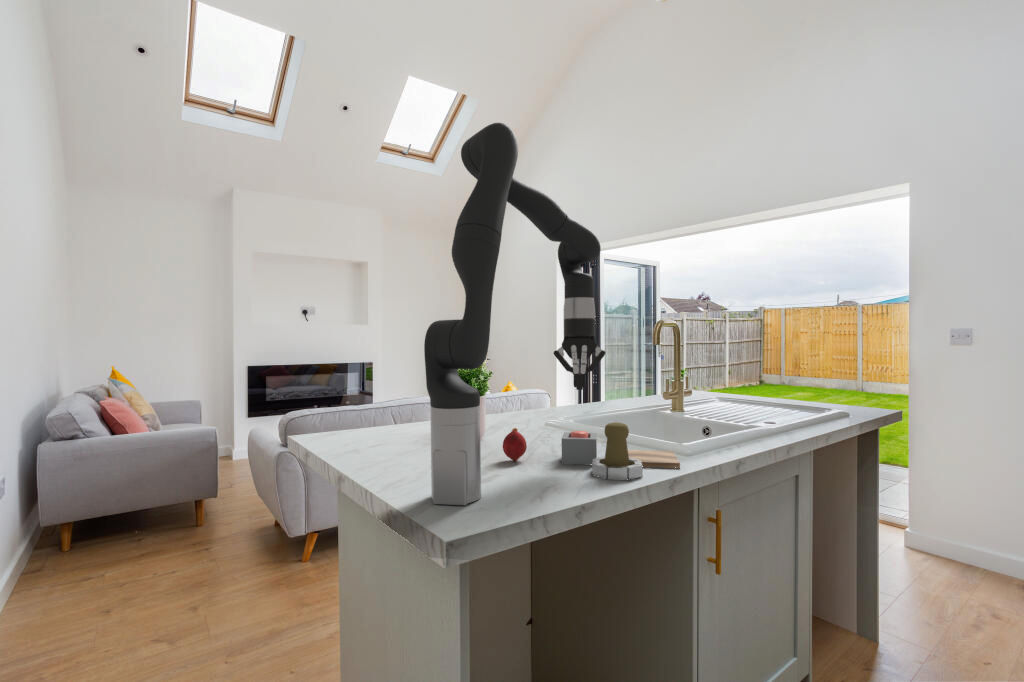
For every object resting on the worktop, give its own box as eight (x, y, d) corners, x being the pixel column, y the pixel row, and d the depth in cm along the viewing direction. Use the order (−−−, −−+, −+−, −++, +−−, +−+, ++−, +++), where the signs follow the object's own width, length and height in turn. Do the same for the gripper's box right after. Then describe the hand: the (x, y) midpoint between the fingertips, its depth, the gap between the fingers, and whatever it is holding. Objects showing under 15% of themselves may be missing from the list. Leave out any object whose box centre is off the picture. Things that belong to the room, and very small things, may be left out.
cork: (600, 475, 108) (600, 424, 108) (605, 468, 113) (604, 420, 113) (629, 478, 106) (628, 426, 106) (632, 471, 111) (632, 421, 111)
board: (679, 468, 113) (679, 463, 113) (625, 466, 115) (625, 461, 115) (672, 456, 125) (672, 451, 125) (623, 454, 127) (623, 449, 127)
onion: (522, 464, 118) (522, 430, 118) (499, 463, 120) (499, 429, 120) (529, 459, 124) (529, 426, 123) (507, 457, 125) (507, 425, 125)
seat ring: (643, 481, 103) (643, 468, 103) (592, 479, 105) (591, 467, 105) (640, 468, 114) (639, 456, 114) (593, 466, 116) (592, 455, 116)
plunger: (587, 459, 119) (587, 434, 119) (570, 459, 120) (570, 433, 120) (588, 455, 123) (588, 431, 123) (571, 455, 124) (571, 430, 124)
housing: (596, 465, 117) (596, 439, 117) (561, 464, 118) (561, 438, 118) (596, 457, 125) (596, 432, 125) (564, 456, 126) (564, 432, 126)
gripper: (550, 317, 119) (550, 390, 119) (607, 316, 116) (607, 391, 116) (553, 318, 126) (553, 387, 126) (607, 317, 124) (607, 388, 124)
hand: (579, 389), depth 121 cm, fingers closed
